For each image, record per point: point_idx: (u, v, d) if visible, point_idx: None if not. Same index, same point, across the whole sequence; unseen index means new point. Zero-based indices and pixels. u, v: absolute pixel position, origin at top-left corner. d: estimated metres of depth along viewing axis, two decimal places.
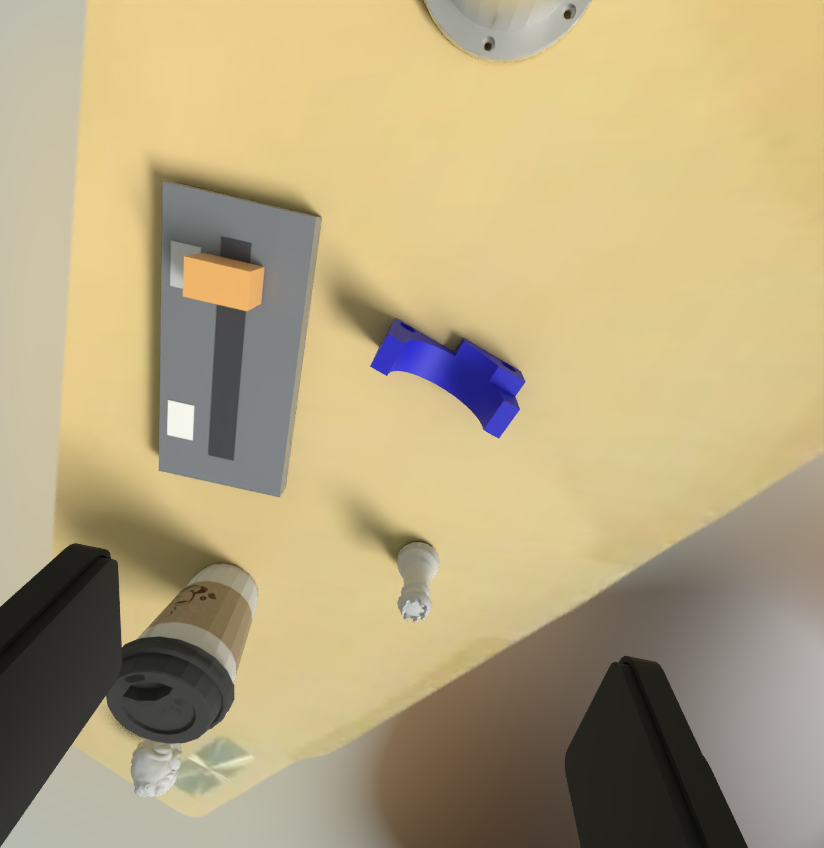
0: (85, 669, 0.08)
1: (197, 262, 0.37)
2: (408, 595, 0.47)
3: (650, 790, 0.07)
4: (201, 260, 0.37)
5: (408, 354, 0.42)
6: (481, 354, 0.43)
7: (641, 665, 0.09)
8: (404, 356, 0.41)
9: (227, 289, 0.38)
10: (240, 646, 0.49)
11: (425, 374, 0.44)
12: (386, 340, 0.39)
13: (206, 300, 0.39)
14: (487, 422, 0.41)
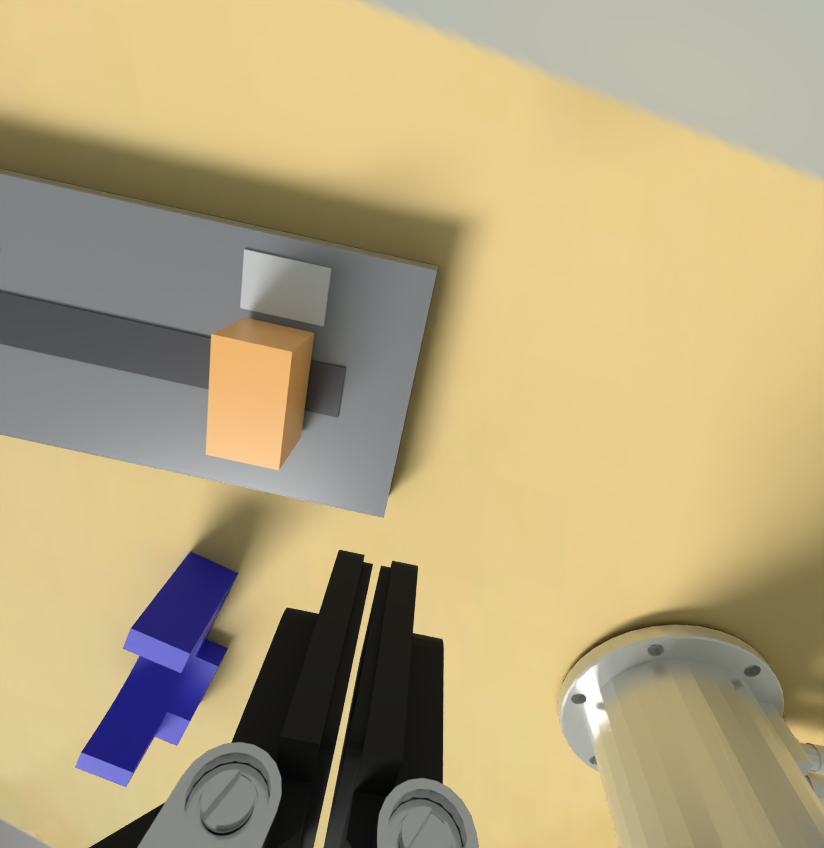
0: None
1: (283, 376, 0.19)
2: None
3: (363, 658, 0.08)
4: (288, 382, 0.19)
5: None
6: (204, 688, 0.31)
7: (398, 566, 0.10)
8: None
9: (239, 425, 0.20)
10: None
11: None
12: (179, 651, 0.24)
13: (212, 381, 0.19)
14: (94, 753, 0.28)
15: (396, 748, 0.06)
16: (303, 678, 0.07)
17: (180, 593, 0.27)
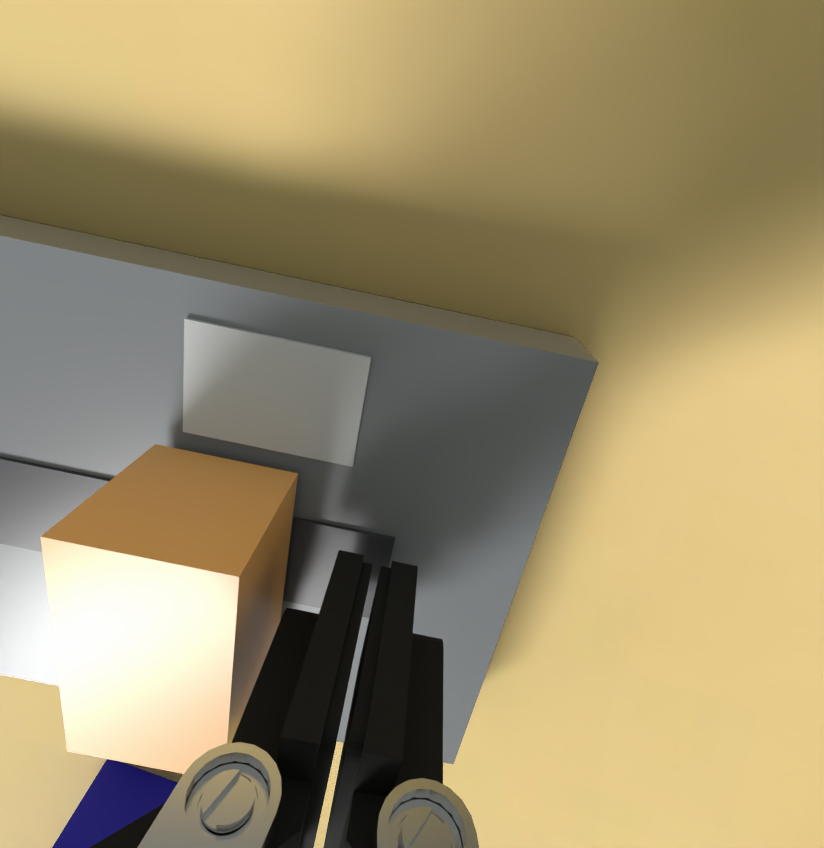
0: None
1: (222, 623, 0.08)
2: None
3: (363, 658, 0.08)
4: (235, 631, 0.08)
5: None
6: None
7: (398, 566, 0.10)
8: None
9: (132, 706, 0.09)
10: None
11: None
12: None
13: (58, 628, 0.08)
14: None
15: (395, 747, 0.06)
16: (303, 678, 0.07)
17: None
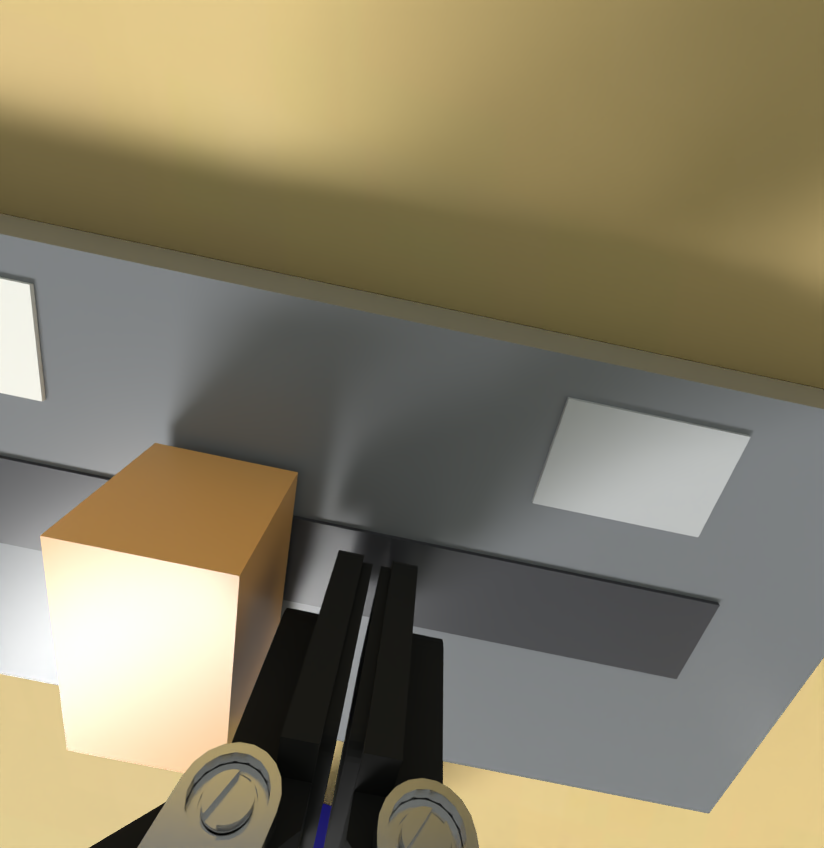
0: None
1: (222, 622, 0.08)
2: None
3: (363, 658, 0.08)
4: (235, 630, 0.08)
5: None
6: None
7: (398, 566, 0.10)
8: None
9: (131, 705, 0.09)
10: None
11: None
12: None
13: (58, 627, 0.08)
14: None
15: (396, 747, 0.06)
16: (303, 678, 0.07)
17: None
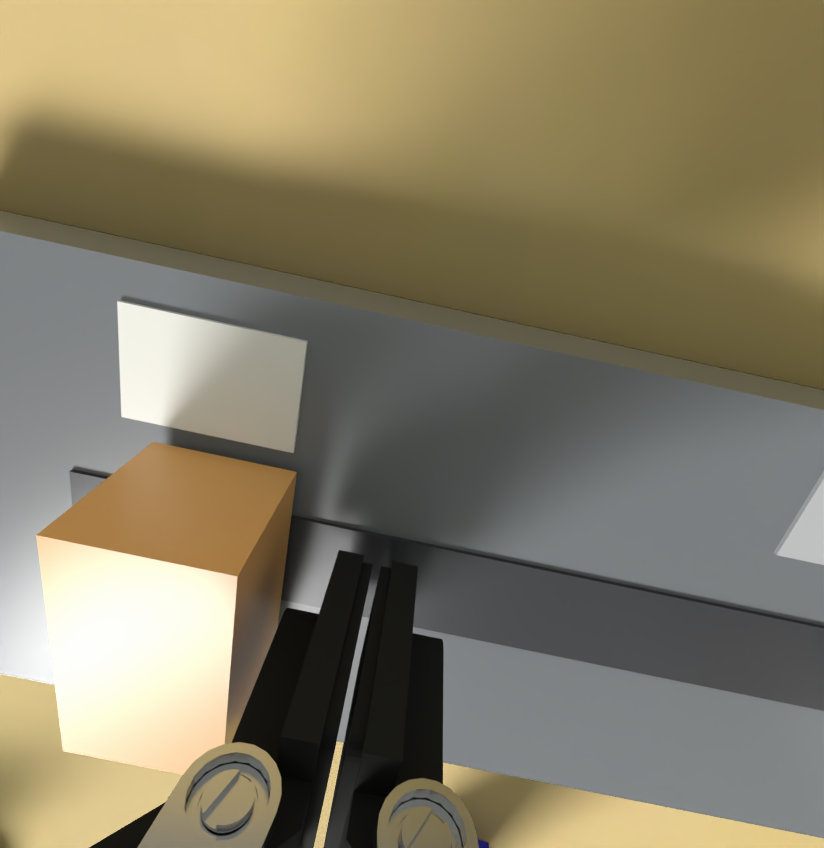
0: None
1: (220, 623, 0.08)
2: None
3: (363, 658, 0.08)
4: (233, 631, 0.08)
5: None
6: None
7: (398, 566, 0.10)
8: None
9: (128, 706, 0.09)
10: None
11: None
12: None
13: (54, 627, 0.08)
14: None
15: (396, 748, 0.06)
16: (303, 678, 0.07)
17: None
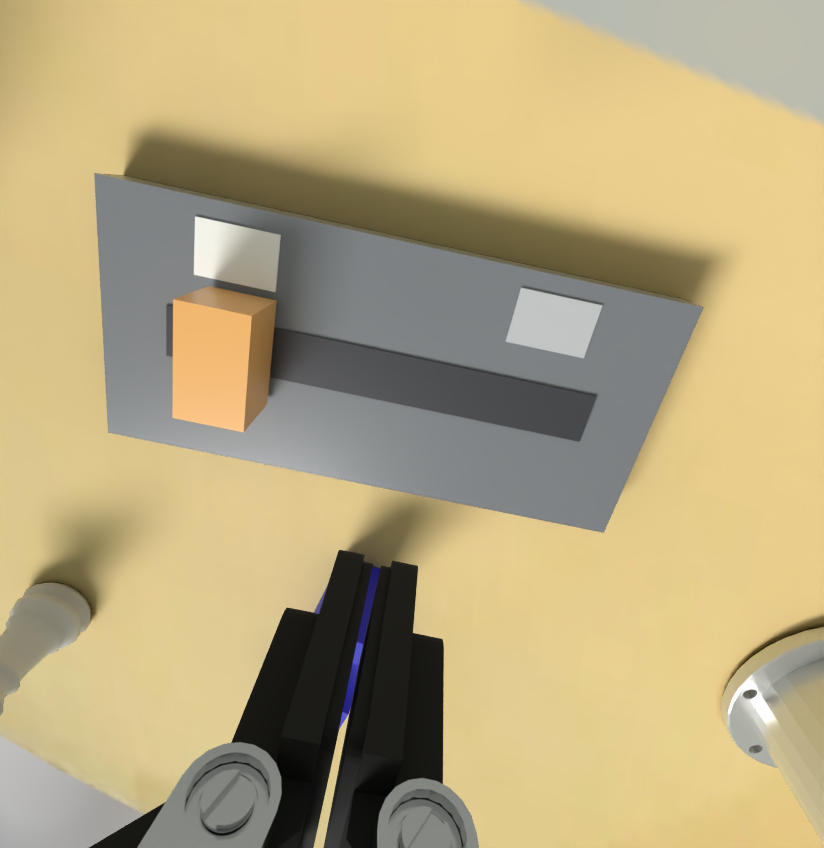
0: None
1: (244, 340, 0.20)
2: None
3: (364, 658, 0.08)
4: (249, 346, 0.20)
5: None
6: None
7: (398, 566, 0.10)
8: None
9: (203, 388, 0.20)
10: None
11: None
12: None
13: (175, 346, 0.20)
14: None
15: (396, 748, 0.06)
16: (303, 678, 0.07)
17: None
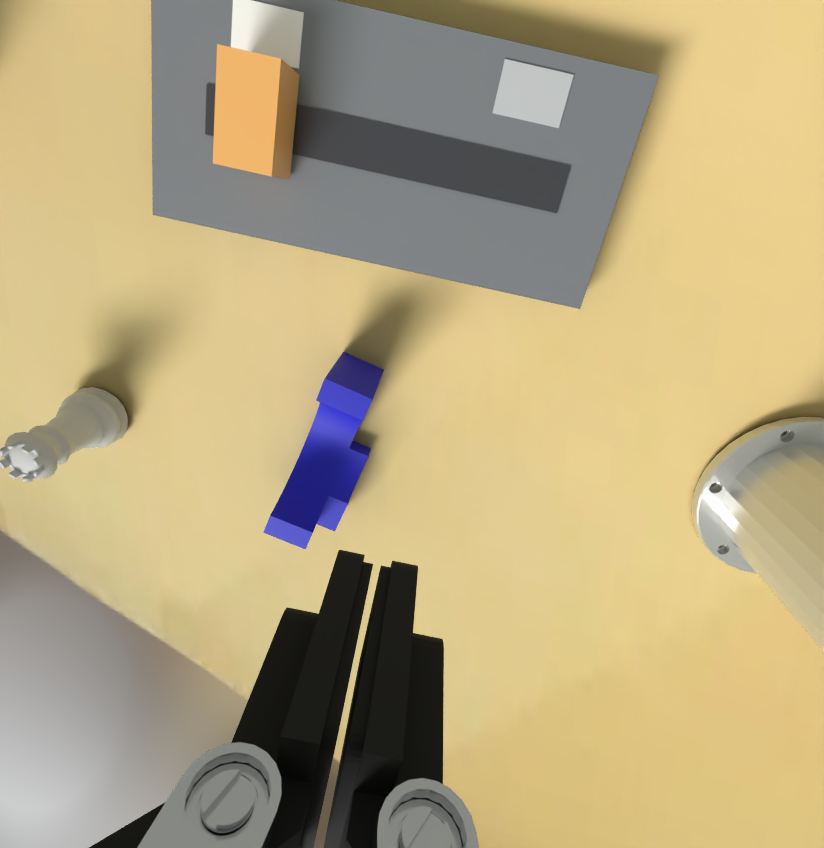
0: None
1: (274, 83, 0.24)
2: (44, 450, 0.30)
3: (363, 658, 0.08)
4: (278, 90, 0.24)
5: None
6: (356, 478, 0.36)
7: (398, 566, 0.10)
8: None
9: (239, 132, 0.25)
10: None
11: (320, 418, 0.35)
12: (363, 397, 0.29)
13: (217, 90, 0.24)
14: (280, 517, 0.33)
15: (396, 747, 0.06)
16: (303, 679, 0.07)
17: (348, 369, 0.32)
